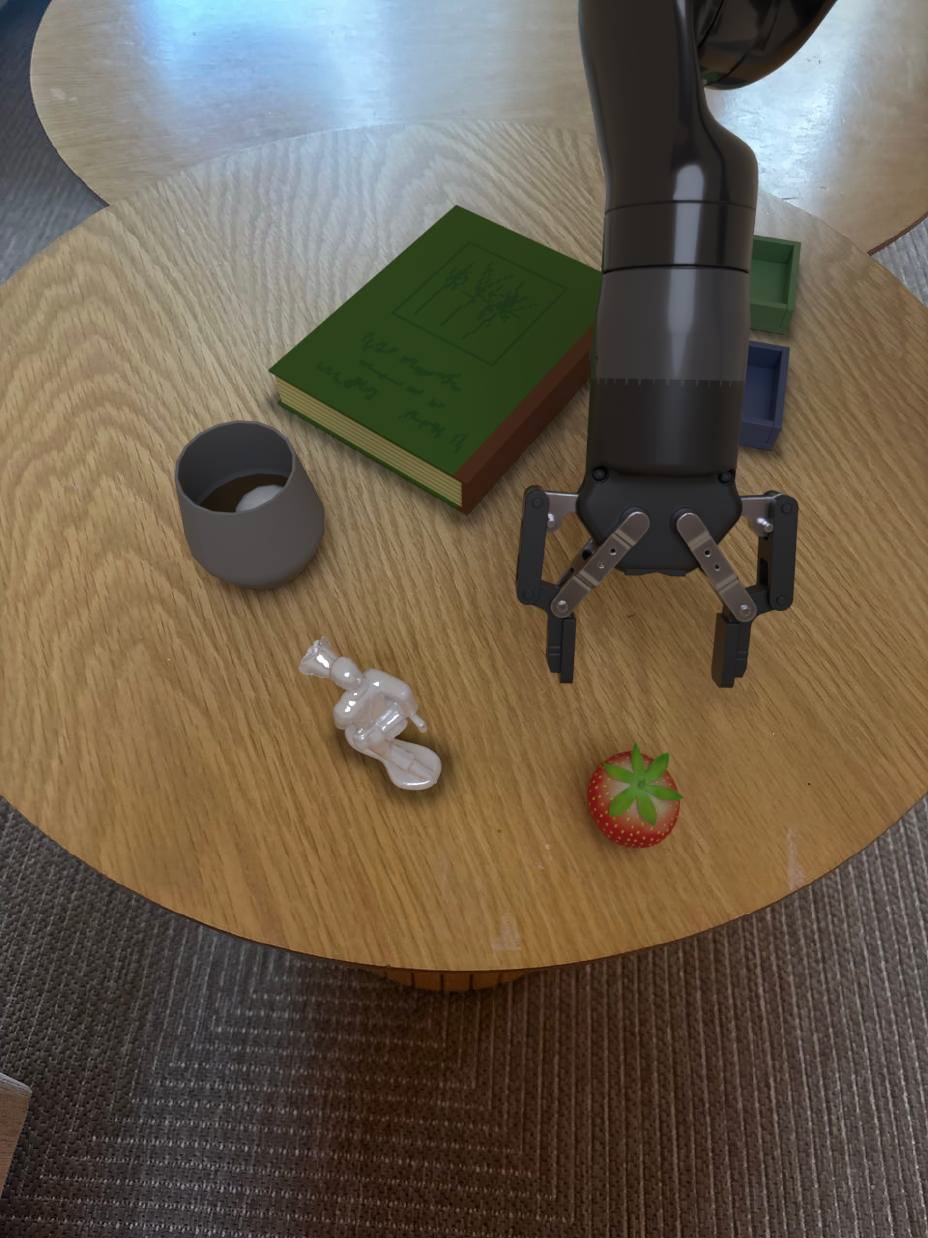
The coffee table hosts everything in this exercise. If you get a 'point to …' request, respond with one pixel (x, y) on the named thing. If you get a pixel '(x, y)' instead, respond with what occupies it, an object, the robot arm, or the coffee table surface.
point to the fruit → (634, 799)
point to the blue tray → (764, 394)
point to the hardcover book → (449, 356)
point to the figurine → (376, 716)
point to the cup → (248, 505)
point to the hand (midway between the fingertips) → (643, 681)
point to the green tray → (773, 283)
